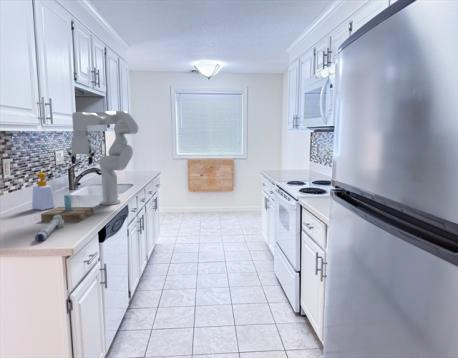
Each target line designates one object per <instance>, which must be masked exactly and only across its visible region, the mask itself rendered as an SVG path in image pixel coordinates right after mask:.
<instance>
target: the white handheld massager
mask: <svg viewBox="0 0 458 358" xmlns="http://www.w3.org/2000/svg"><path fill="white" fill-rule="evenodd" d="M64 226H65V222H64V220H62V217H61V215H55V216H54V217H53V220H52V221H51V222H48V224H46V225H45V226H44V227H43V228H42V229H40V230H38V232H37V233H36V235H35V236H34V241H35V242H36V243H37V242H38V243H41V242H40V241H43V242H44V241H45V240H46V239H47V238H48V237H49V235H50V234H51V233H52V232H53V230H54V228H55V230H58V229H57V228H59V229H61V228H64Z"/></svg>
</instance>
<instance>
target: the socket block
mask: <svg viewBox="0 0 458 358" xmlns="http://www.w3.org/2000/svg"><path fill="white" fill-rule="evenodd" d="M71 209H72V211H70V212H69V211H65V206H57V207H54V208H51V209H49V210H48V211H47V210H46V211H45V212H42V213H40V220H41V222H43V223H44V222H47V223H50V222H51V221H52V220H53V217H54V216H55V215H61V217H62V220H64V223H80V222H82V221H84V220H86V219H88V218H89V217H91V216H93V215H94V213H95V212H94V206H93V207H92V206H71Z"/></svg>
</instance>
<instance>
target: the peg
mask: <svg viewBox="0 0 458 358" xmlns="http://www.w3.org/2000/svg"><path fill="white" fill-rule="evenodd" d="M63 200H64V201H63V202H64V207H65V211H69V212H70V211H72V209H71V207H72V197H71V194H65V195H63Z"/></svg>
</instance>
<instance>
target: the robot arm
mask: <svg viewBox="0 0 458 358" xmlns="http://www.w3.org/2000/svg"><path fill="white" fill-rule="evenodd" d="M71 117H72V118H71V119H72V120H71V121H72V132H73V133H72V137H71V146H70V147H68V148H66V149H65V150H66V153H67V155H68V156H69V157H70V160H71V165H76V164H77V158H76V155H87V156H88V159H87V160H88V165H92V164H93V161H94V160H93V159H94V158H93V157H94V156H95V155H96V153H97V151H98V150H97V149H96V148H94V147H93V146H92V142H91V139H90V136H89V135H90V134H91V132H89V131H88V126H89V127H94V126H107V125H113V126H114V127H113V128H114V129H113V130H114V136H115V137H114V138H115V139H114V141H113V142H112V144H111V146H110V147H109V149H108V151H107V152H108V155H104V156H101V157H100V159H99V161H98V163H99V168H100V174H101V188H102V189H101V190H102V192H101V193H102V194H101V195H102V200H101V201H100V202H99V203H100V205H105V206H106V205H107V206H109V205H110V206H111V205H112V206H113V205H118V204H120V203H121V200H120V199H119V194H118V192H119V191H118V176H117V175H118V174H117V173H116V171H118V172H119V171H125V169H126V168H127V166H128V165H129V163H130V160H131V159H132V158H133V155H134V149H133V147H132V145H130V144H128V139H127V137H126V135H136V134H137V133H138V132H139V126H138V123H137V122H136V120H135V119H134V117H133V116H132V115H131V114H130V113H129V112H128V111H126V110H110V111H109V110H107V111H93V112H91V111H90V112H81V111H79V112H78V111H75V112H73V113H72V115H71Z"/></svg>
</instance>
